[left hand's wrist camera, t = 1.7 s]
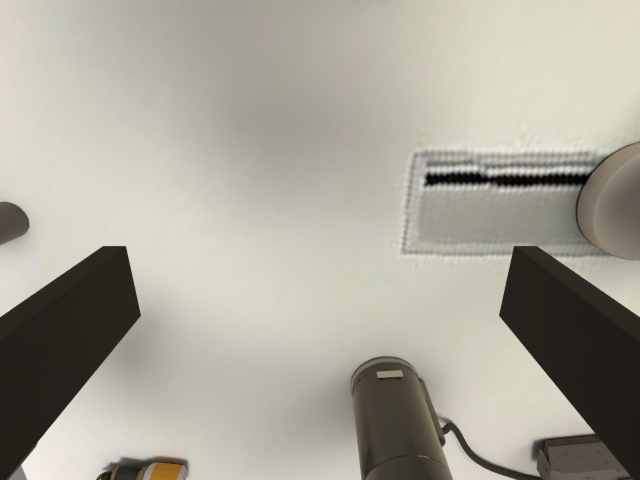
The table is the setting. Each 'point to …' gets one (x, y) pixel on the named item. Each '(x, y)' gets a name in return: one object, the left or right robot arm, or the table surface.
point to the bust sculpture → (613, 205)
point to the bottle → (11, 222)
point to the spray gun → (147, 473)
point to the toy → (579, 460)
